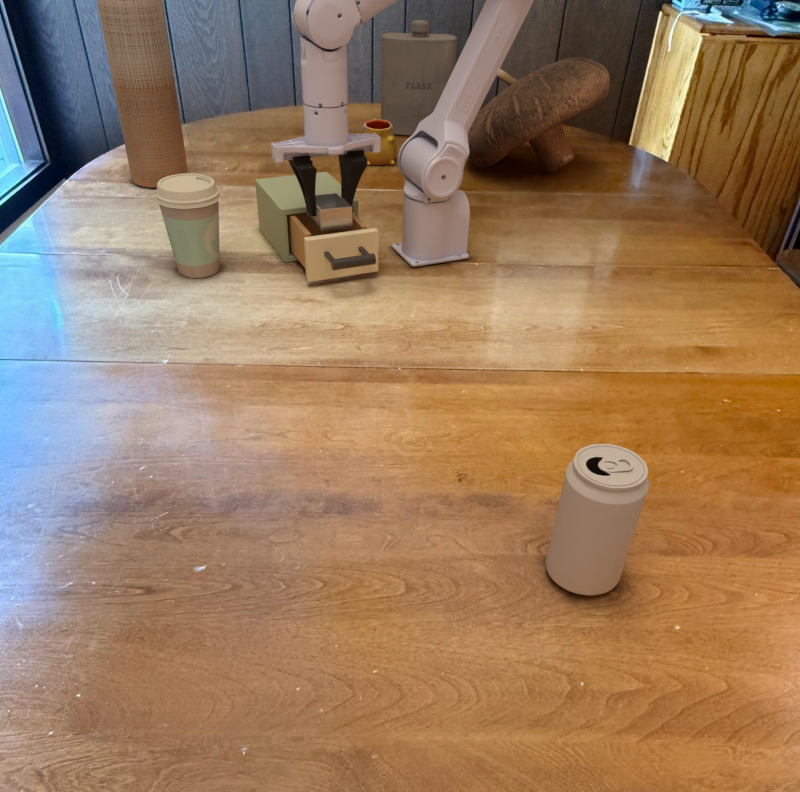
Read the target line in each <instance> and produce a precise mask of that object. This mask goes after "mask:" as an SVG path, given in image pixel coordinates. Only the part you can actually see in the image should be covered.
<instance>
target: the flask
mask: <svg viewBox="0 0 800 792" xmlns="http://www.w3.org/2000/svg"><path fill="white" fill-rule="evenodd" d="M410 31H411V32H412V33H407V32H386V33H383V34H382V35H381V59H380V61H381V63H380V65H381V70H380V71H381V75H380V77H381V78H380V79H381V80H380V81H381V82H380V120H386V121H389V122H390V123H391V124H392V126H393V133H394V136H400V137H401V136H403V137H411V136H412V135H413V133H414V132H415V130H416V128H417V126H418V124H419V123H420V122H421V121H422V120H423V119H425V118H426V117H428V116H429V115H431V114H432V113H433V112H434V110H435V107H436V105H437V103H438V101H439V99H440V97H441V95H442V93H443V91H444V89H445V86H446V84H447V82H448V80H449V78H450V76H451V74H452V72H453V70H454V67H455V65H456V63H457V62H456V61H457V45H458V37H457V36H455V35H453V34H448V33H428V32H429V31H430V23H429V21H427V20H423V19H415V20H413V21H412V22H411V23H410Z"/></svg>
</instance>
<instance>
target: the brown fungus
mask: <svg viewBox="0 0 800 792" xmlns="http://www.w3.org/2000/svg"><path fill="white" fill-rule="evenodd" d="M607 69H608V68H606V67H605V66H604V65H603V64H602V63H600V62H598V61H595V60H593V59H591V58H587V57H581V56H573V57H568V58H564V59H560V60H558V61H555V62H552V63H549V64H546V65H544V66H541V67H540V68H537V69H536V70H533V71H532V72H530V73H529V74H526V75H524V76H522V77H520V78H518V79H516V78H514V77H512V76H511V75H510V74H509V73H507V71H504V70H502V69H501V68H500V69H499V71H498V73H497V75H496V77H497V78H498V79H499V80H500V81H501V82H504V83H505V84H506V85H507V87H506V88H505V89H503V90H502V91H500V93H498V94H497V95H495V96H494V97H493V98H492V99H490V101H489V102H488V103H487V104H485V105H484V106H483V107H481V108H480V109H479V111H478V113H477V115H476V117H475V119H474V121H473V123H472V125H471V127H470V129H469V131H468V143H469V156H468V158H467V159H469V162H471V163H472V164H473V165H475V166H477V167H480V168H484V167H485V168H486V167H488V166H492V165H494V164H496V163H498V162H500V161H501V160H502V159H504V158H505V157H506V156H507V155H509V154H510V153H511V152H512V151H514V150H516V149H518V148H520V147H522V146H523V145H525V144H526V143H528V144H529V145H530V146H531V148H532V150H533V152H534V154H535V155H536V158H537V160H538V161H539V163H540V165H541V167H542V169H543V170H544V172H545V174H553V173H554V172H556V171H557V170H558V169H559V168H561V167H563V166H565V165H567V164H569V163H571V162H572V161H574V159H575V155H574V153H573V150H572V149H571V146H570V144H569V142H568V139H567V136H566V133H565V131H564V130H565V129H564V126H563V124H565V123H566V122H569V121H570V120H572V119H574V118H577V117H578V116H580V115H582V114H584V113H586V112H588V111H590V110H591V109H592V108H593V107H595V106H596V105H598V104H599V103H601V102H603V101H604V100H605V99H606V98H607V96H608V94H609V92H610V89H611V88H610V87H611V77H610V74H609V72H608V70H607Z"/></svg>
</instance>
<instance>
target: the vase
mask: <svg viewBox="0 0 800 792" xmlns="http://www.w3.org/2000/svg"><path fill="white" fill-rule="evenodd" d="M96 4H97V9H98V14H99V20H100V24H101V30H102V36H103V41H104V45H105V50H106V56H107V61H108V65H109V66H108V67H109V70H110V76H111V81H112V86H113V91H114V92H113V93H114V95H115V101H116V106H117V112H118V117H119V121H120V127H121V132H122V137H123V142H124V143H123V144H124V147H125V152H126V157H127V163H128V168H129V173H130V177H131V181H132V183H133V184H134V185H136V186H139V187H142V188H148V189H157V183H158V181H159V180H161V179H162V178H164V177H167V176H171V175H176V174H185V173H189V168H188V162H187V153H186V149H185V142H184V141H185V140H184V135H183V134H184V133H183V128H182V121H181V114H180V113H181V112H180V108H179V101H178V93H177V88H176V80H175V74H174V67H173V59H172V53H171V46H170V40H169V33H168V25H167V20H166V12H165V6H164V1H163V0H96Z"/></svg>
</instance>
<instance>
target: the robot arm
mask: <svg viewBox="0 0 800 792" xmlns="http://www.w3.org/2000/svg"><path fill="white" fill-rule="evenodd" d="M398 1H399V0H296V1H295V3H294V8H293V12H291V13H290V15H291V20H292V24H293V26H294V28H295V31H296V32H297V33H298V34H299V36H300V37H299V39H300V41H299V42H300V73H301V74H300V75H301V92H302V93H301V95H302V111H303V115H302V116H303V131H304V136H300V137H295V138H292V139H287V140H282V141H275V142H271V143H270V149H271V158H272V160H273V161H274V162H275V163H276V164H281V163H284V162H285V161H288V163H289V166H290V167H291V170H292V171H293V173H294V175H296V177H297V180H298V182H299V185H300V187H301V190H302V193H303V196H304V200H305V204H306V209H307V212H308V213H309V214H310V216H316V196H315V185H316V173H318V171H317V170H318V169H317V168H316V167H315V165H314V161H313V160H311V159H313V158H322V157H324V158H325V157H332V156H333V157H334V156H337V157H338V163H339V164H338V165H339V171H340V184H341V196H342V197H343V198H344V199H345V200H346V201H347V202H348V203H349V204H350V205H351V206H352V205H353V200H354V197H355V195H356V192H357V189H358V186H359V183H360V181H361V178H362V176H363V174H364V173H365V171H366V169H367V168H368V165H367V157H365V156H364V152H372V153H380V149H381V137H380V136H378V135H377V134H375V133H371V134H363V133H349V89H348V87H349V86H348V85H349V84H348V82H349V81H348V79H349V78H348V57H347V54H348V52H347V50H348V49H347V47H348V46H347V45H348V43H349V42H350V41H351V38H352V36H353V34H354V31H355V28H356V29H357V28H360V26H362V25H363V24H366V23H367V22H368V21H369V20H371V19H372V18H374V17H376V16H377V15H378V14H380V13H381V12H383V11H386V9H387V8H389V7H391V6H393V5H394V4H395V3H397V2H398ZM534 2H535V0H486V1H484V4H483V7H481V11H480V13H479V14H478V16H477V19H476V20H475V23H474V25H473V27H472V30H471V31H470V34H469V36H468V38H467V40H466V42H465V45H464V47H463V48H462V50H461V53H460V55H459V57H458V59H457V60H456V61H457V62H455V67H454V70H453V72H452V74H451V76H450V78H449V80H448V82H447V84H446V86H445V89H444V91H443V93H442V95H441V97H440V99H439V101H438V103H437V105H436V107H435V110H434V112H433V113H432V114H431V115H429V116H428V117H426V118H425V119H423V120H422V121H421V122H420V123H419V124H418V126H417V128H416V130H415V132H414V133H413V135H412V136H408V138H407V139H406V140H404V142H403V143H402V145H400V149H399V150H398V153H397V167H398V170H399V172H400V173H401V174H402V177H404V186H403V196H402V197H403V198H402V199H403V200H402V228H401V229H402V231H401V232H402V233H401V234H402V235H401V242H398V243H393V244H392V245H391V248H392V249H393V251H395V252H396V253H397V254H398V255H399V256H400V257H401V258H402V259H403V260H404V261H405V262H406V263H407V264H409V266H410V267H413V268H415V267H423V266H429V265H435V264H442V263H449V262H454V261H461V260H462V261H463V260H468V259H469V258H470V254H468V244H469V233H470V223H471V222H470V221H471V209H470V207H471V206H470V201H469V199H468V196H467V194H466V193H465V192H464V191H463V190H462V189H459V188H460V187H461V185H462V182H463V178H464V170H465V169H464V168H465V165H466V163H467V160H468V159H469V158H468V156H469V143H468V131H469V129H470V127H471V125H472V123H473V121H474V119H475V117H476V115H477V113H478V112H479V111H480V110H481V108H482V106H483V103H484V102H485V99H486V98H487V95H488V94H489V91H490V90H491V87H492V86H493V83H494V81H495V79H496V77H497V76H496V75H497V73H498V71H499V69H501V67H502V65H503V63H504V61H505V59H506V57H507V55H508V53H509V51H510V49H511V47H512V45H513V43H514V41H515V40H516V37H517V35H518V33H519V31H520V29H521V28H522V25H523V24H524V22H525V19H526V18H527V16H528V13H529V11H530V10H531V7H532V5H533V3H534Z"/></svg>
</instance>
